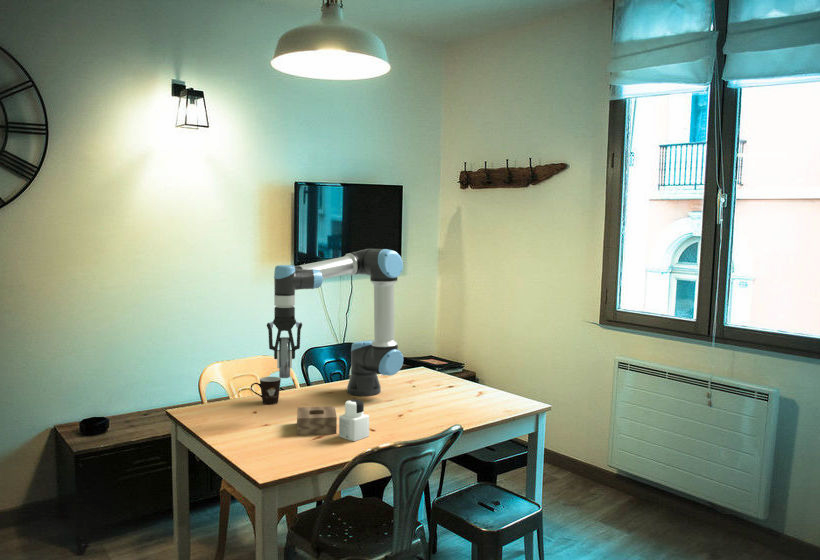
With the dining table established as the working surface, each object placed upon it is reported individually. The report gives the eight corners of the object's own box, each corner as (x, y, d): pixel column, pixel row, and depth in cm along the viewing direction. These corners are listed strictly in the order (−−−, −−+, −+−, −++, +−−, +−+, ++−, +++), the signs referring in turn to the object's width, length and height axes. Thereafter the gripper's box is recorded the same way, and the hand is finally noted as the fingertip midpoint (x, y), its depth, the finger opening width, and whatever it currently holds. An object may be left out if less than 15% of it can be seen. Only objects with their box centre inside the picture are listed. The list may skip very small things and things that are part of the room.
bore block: (334, 421, 243) (334, 406, 242) (336, 433, 229) (336, 417, 228) (297, 423, 240) (297, 407, 240) (296, 435, 227) (297, 418, 226)
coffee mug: (283, 400, 272) (283, 377, 271) (277, 405, 263) (277, 381, 262) (256, 398, 273) (256, 375, 272) (249, 404, 264) (249, 380, 263)
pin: (290, 375, 244) (290, 336, 243) (289, 378, 240) (289, 338, 239) (279, 375, 244) (279, 337, 243) (279, 378, 240) (279, 338, 239)
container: (353, 431, 231) (354, 396, 230) (369, 436, 227) (369, 400, 226) (338, 437, 226) (338, 401, 224) (354, 441, 221) (354, 405, 220)
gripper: (307, 304, 245) (307, 364, 247) (262, 305, 242) (262, 365, 244) (307, 307, 238) (307, 369, 240) (260, 307, 235) (260, 370, 237)
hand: (284, 367), depth 242 cm, fingers closed on pin, 4 cm apart
